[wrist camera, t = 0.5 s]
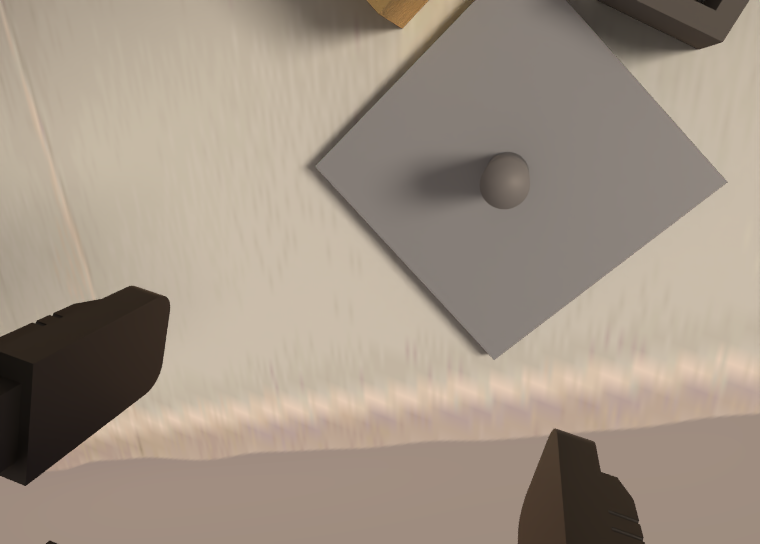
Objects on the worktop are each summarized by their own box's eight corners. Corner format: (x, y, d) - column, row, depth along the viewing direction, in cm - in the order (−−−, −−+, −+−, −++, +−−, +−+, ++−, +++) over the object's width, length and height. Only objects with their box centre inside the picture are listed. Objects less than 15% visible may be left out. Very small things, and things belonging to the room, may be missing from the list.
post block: (522, -45, 32) (522, -77, 26) (721, 180, 33) (763, 195, 27) (320, 164, 37) (284, 175, 32) (494, 353, 38) (489, 397, 33)
